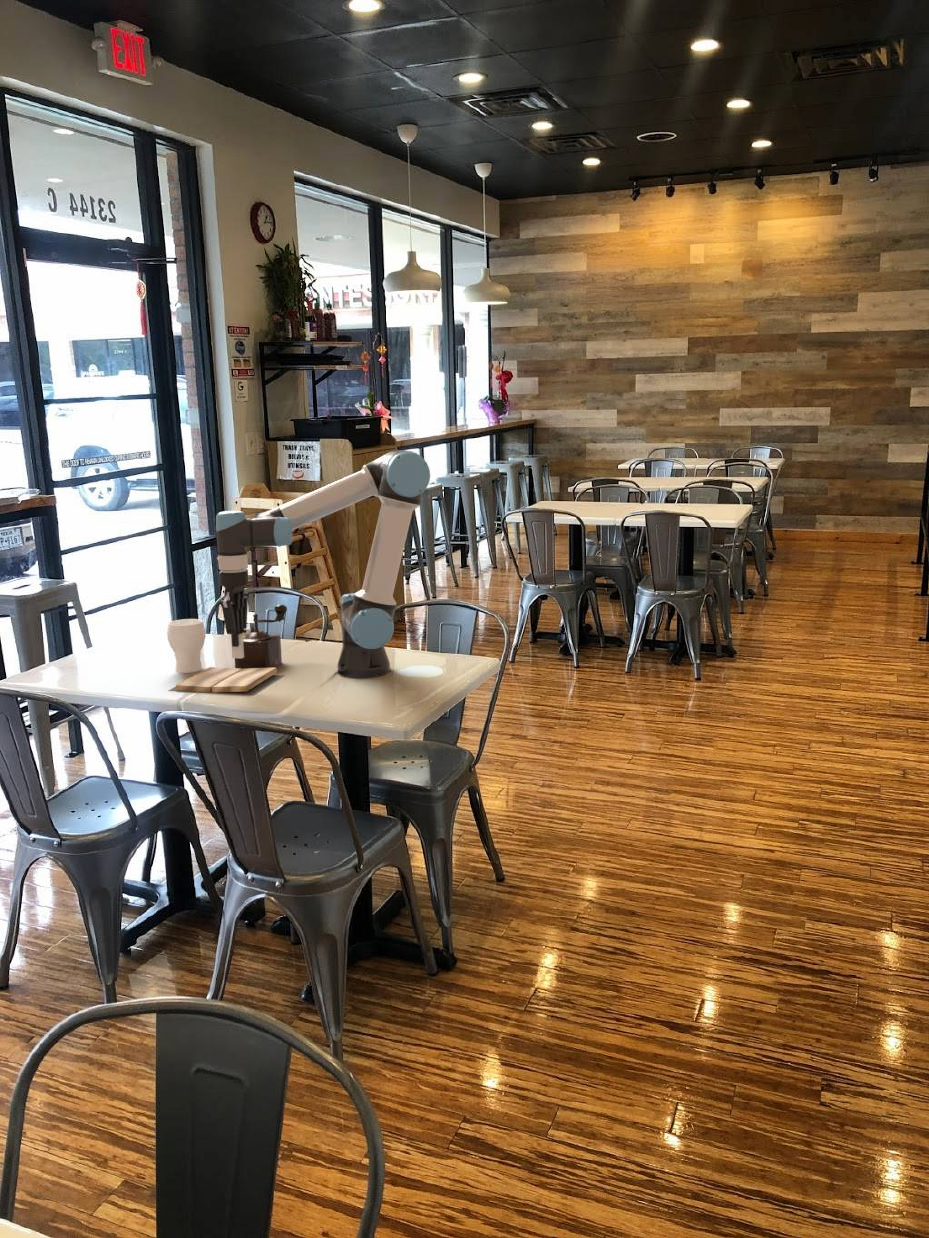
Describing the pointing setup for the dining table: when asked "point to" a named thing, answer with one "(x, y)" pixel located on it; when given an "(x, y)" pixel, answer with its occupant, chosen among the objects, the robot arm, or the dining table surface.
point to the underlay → (249, 692)
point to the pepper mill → (262, 645)
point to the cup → (187, 643)
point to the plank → (244, 680)
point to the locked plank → (206, 679)
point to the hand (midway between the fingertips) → (238, 657)
